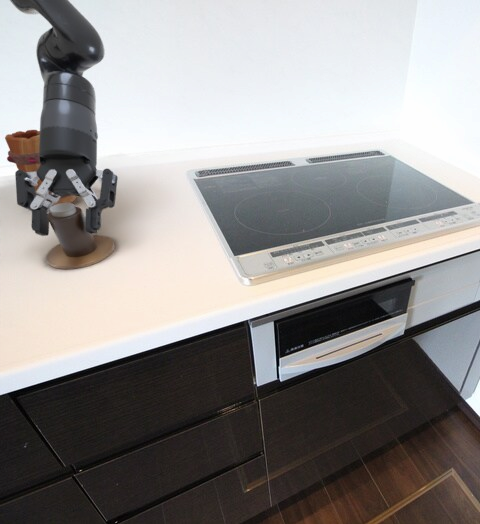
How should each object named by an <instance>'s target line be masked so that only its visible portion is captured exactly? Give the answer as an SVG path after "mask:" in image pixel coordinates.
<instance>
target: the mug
mask: <svg viewBox="0 0 480 524" xmlns="http://www.w3.org/2000/svg"><path fill="white" fill-rule="evenodd" d="M4 139H5V142H6V145H7V146H8V149H9V150H8V151H7V155H8V156H7V157H6V160H7V162H9V163H13V164H15V165H16V168H17V170H22V171H24V172H36V171H37V170H38V168H39V166H40V158H39V141H40V130H37V129H28V130H26V131H22V130H19V131H15V132H13V133H11V134H9V133H8V134H6V135H5V136H4ZM37 184H38V185H37V186H35V195H37V194H36V191H37V190H38V188H39V187H40V185H41V184H42V181H41V180H40V179H39V180H38V182H37ZM51 193H52V192H51V191H49V195H50V194H51ZM77 197H78V196H73V195H71V196H67V197H60V199H59V200H58V202H56V203H54V204H53V205H52V206H54V205H57V204H60V203H73V202H74V201H75V200H76V199H77Z"/></svg>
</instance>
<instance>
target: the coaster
mask: <svg viewBox="0 0 480 524" xmlns="http://www.w3.org/2000/svg"><path fill="white" fill-rule="evenodd" d="M92 235H93V237H94V240H95V242H96V245H97V248H96V249H95V250H94V251H93V252H92V253H90V254H87V255H84V256H80V257H69V256H66V255H65V253H64V251H63V249H62V247H61V245H60V243H58V244H56V245H55V246H54V247H52V248H51V249H50V250H49V251H48V252H47V254H46V257H45V258H46V262H47V264H48V265H50V266H51V267H53V268H55V269H59V270H75V269H80V268H85V267H89V266H91V265H95V264H97V263H100V262H101V261H103V260H105V259H106V258H108V257H109V256H110V255H111V254H112V253H113V252H114V250H115V242H114V241H113V239H112V238H110V237H109V236H105V235H100V234H92Z"/></svg>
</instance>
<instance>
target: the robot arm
mask: <svg viewBox="0 0 480 524" xmlns="http://www.w3.org/2000/svg"><path fill="white" fill-rule="evenodd" d="M9 2H10V3H11V4H12V5H13V6H14V7H15V9H17V10H18V11H19V12H21V13H22V14H25V15H30V16H32V15H35V16H36V15H40V16H42V18H44V19H45V20H46V21H47V22H48V24H49V25H51V27H50V28H49V29H48V30H46V31H45V32H43V33H42V34H41V35H40V36H39V38H38V40H37V43H36V52H35V53H36V60H37V65H38V68H39V71H40V75H41V79H42V81H43V92H42V94H43V95H42V109H41V113H40V118H39V119H40V120H39V122H40V123H39V131H40V141H39V158H40V166H39V168H38V170H37V171H36V172H24V171H22V170H18V169H17V170H16V171H15V174H14V175H15V191H16V192H15V193H16V203H17V205H18V206H19V207H22V208H24V209H26V210H28V211H31V229H32V231H34V233H35V234H36V235H39V236H42V237H46V236H47V237H48V236H49V235H50V222H49V220H48V218H47V214H48V213H49V212H50V208H51V207H52V205H53V204H54V203H56V202H58V200H59V199H60V197H67V196H71V195H73V196H77V197H81V198H82V199H83V201H84V202H85V203H86V206H88V208H85V218H86V231H87V232H89V233H91V234H92V235H97V234H98V231H100V230H101V228H102V212H103V210H105V209H108V208H109V209H112V208H114V207H115V206H116V196H117V185H118V178H119V177H118V175H117V174H116V173H115V172H113V170H111V169H110V168H104V169H103V170H99V169H97V165H98V159H97V158H98V138H99V135H98V126H97V125H98V124H97V119H96V117H97V116H96V103H97V102H96V101H97V99H96V98H97V97H96V90H95V87H94V86H93V84H92V83H91V82H90V80H88V79H87V78H86V77H84V76H83V75H84V73H85V72H86V71H88V70H89V69H91V68H92V67H94V66H96V65H97V64H99V63H101V62H102V60H104V57H105V54H106V53H105V46H104V43H103V40H102V38H101V36H100V33H99V32H98V31H97V29H96V28H95V27H94V26H93V24H92V23H91V22H90V21H89V20H88V19H87V18H86V17H85V16H84V14H82V13H81V12H80V11H79V10H78V9H77V8H76V7H75V6H74V4H72V2H71V1H69V0H9ZM39 179H40V180H41V181H42V184H41V185H40V187H39V188H38V190H37V191H36V194H37V195H35V186H37V185H38V184H37V182H38V180H39ZM97 181H99V182H100V183H101V185H100V192H99V198H98V196H97V194H96V193H95V191H94V190H93V188H92V187H93V185H94V184H95V183H96V182H97ZM49 191H51V192H52V193H51V194H50V195H49Z"/></svg>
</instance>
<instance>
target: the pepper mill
mask: <svg viewBox="0 0 480 524" xmlns="http://www.w3.org/2000/svg"><path fill="white" fill-rule="evenodd" d="M47 218H48V220H49V225H50V226H51V229H52V230H53V233H54V234H55V236H56V238H57V240H58V244H60V245H61V247H62V249H63V251H64V253H65V255H66V256H69V257H80V256H84V255H87V254H90V253H92V252H93V251H94V250H95V249H96V248H97V245H96V242H95V240H94V237H93V235H94V234H91V233H89V232H87V231H86V215H85V213H84V212H83V209H82V208H81V207H80V206H76V205H75V204H74V203H73V202H71V203H60V204H57V205H54V206H52V207H51V208H50V210H49V211H48V214H47Z"/></svg>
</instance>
